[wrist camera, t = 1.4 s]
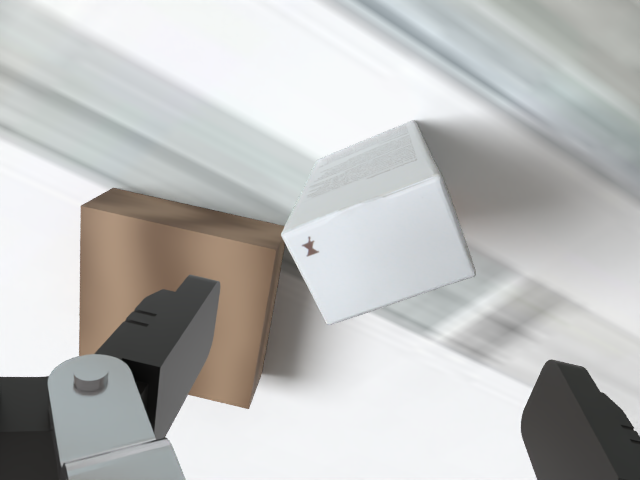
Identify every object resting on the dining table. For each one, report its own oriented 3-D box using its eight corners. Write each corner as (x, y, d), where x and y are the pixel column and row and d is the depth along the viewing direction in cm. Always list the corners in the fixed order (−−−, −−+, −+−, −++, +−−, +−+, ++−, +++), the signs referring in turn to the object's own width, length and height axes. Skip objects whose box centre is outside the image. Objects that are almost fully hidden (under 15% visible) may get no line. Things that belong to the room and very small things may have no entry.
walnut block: (289, 224, 31) (276, 250, 28) (262, 370, 36) (248, 409, 32) (116, 186, 32) (81, 205, 28) (110, 334, 36) (79, 368, 32)
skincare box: (344, 224, 30) (322, 330, 19) (315, 158, 29) (274, 232, 18) (443, 187, 29) (480, 279, 18) (417, 116, 28) (440, 168, 17)
